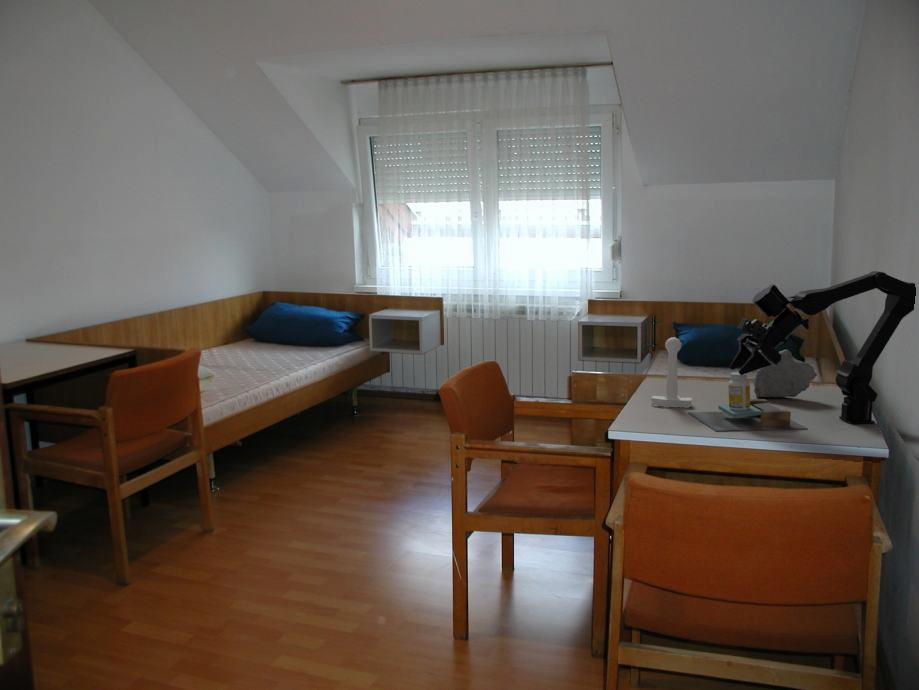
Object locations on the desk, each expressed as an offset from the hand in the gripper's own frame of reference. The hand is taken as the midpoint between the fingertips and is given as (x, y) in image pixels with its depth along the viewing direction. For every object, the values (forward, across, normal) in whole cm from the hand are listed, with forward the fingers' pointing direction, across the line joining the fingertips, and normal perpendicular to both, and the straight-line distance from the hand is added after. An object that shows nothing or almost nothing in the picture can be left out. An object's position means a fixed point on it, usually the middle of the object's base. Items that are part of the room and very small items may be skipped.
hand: (735, 371), depth 212 cm
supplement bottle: (+6, 0, +8) cm, 10 cm away
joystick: (+18, -20, +2) cm, 27 cm away
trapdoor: (+5, 0, +12) cm, 13 cm away
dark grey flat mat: (+7, 0, +12) cm, 14 cm away
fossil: (-7, -28, +27) cm, 39 cm away
